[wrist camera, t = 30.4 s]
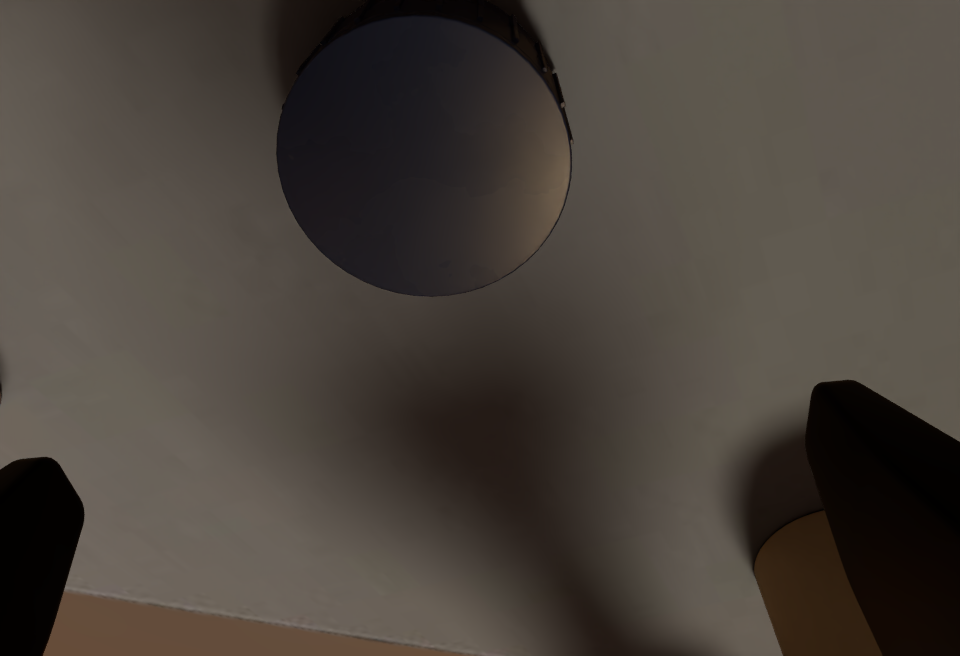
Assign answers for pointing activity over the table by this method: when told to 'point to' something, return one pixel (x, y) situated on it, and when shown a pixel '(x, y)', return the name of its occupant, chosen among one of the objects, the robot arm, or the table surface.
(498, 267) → the jar lid
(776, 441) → the table surface
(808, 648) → the jar
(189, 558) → the table surface
